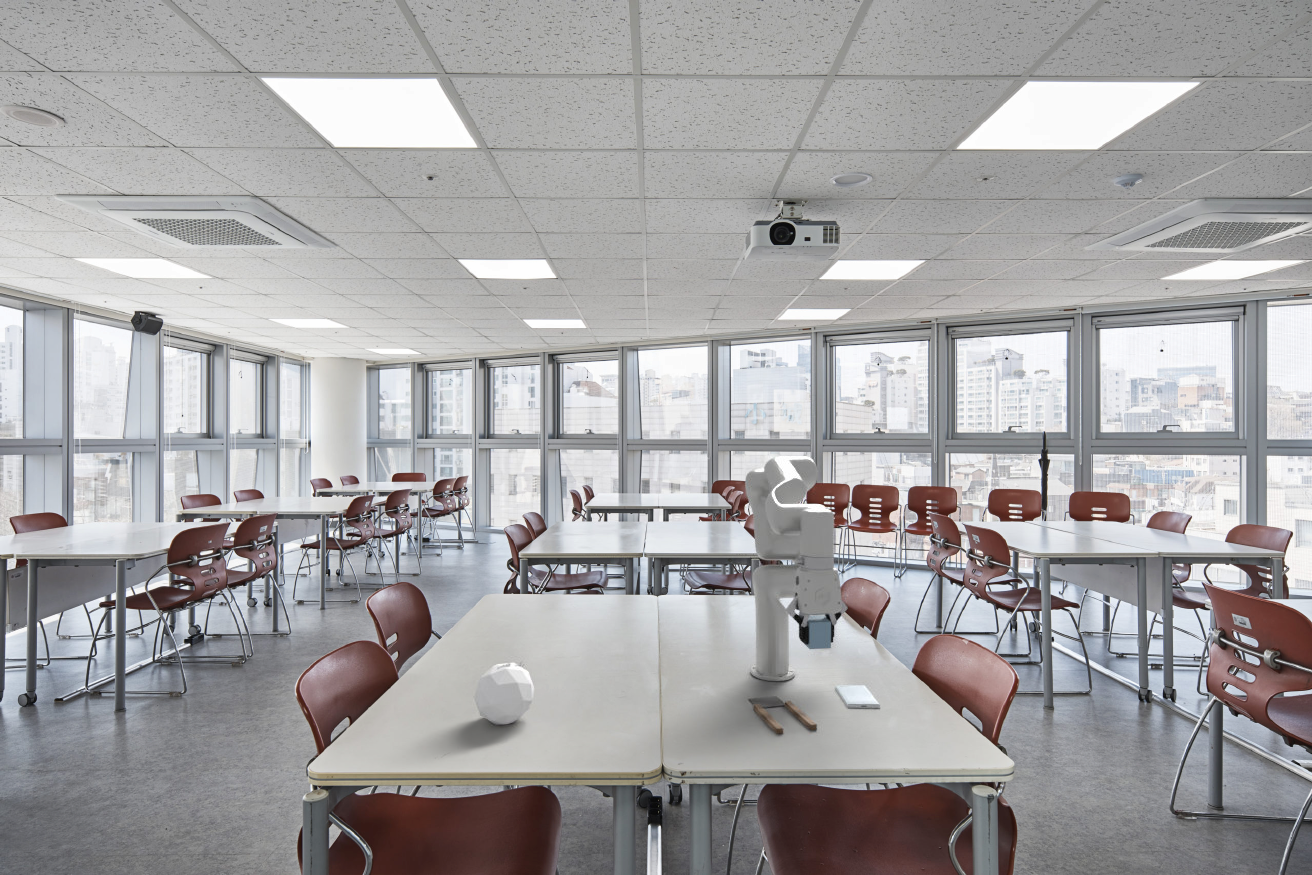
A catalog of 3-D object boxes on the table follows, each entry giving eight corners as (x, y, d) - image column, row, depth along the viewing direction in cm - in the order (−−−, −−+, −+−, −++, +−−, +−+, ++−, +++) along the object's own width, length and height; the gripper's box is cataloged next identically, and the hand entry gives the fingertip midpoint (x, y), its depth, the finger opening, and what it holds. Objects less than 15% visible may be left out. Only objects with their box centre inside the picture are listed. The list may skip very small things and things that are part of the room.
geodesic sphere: (522, 676, 161) (494, 640, 155) (558, 689, 152) (531, 652, 146) (483, 727, 152) (452, 691, 145) (519, 744, 143) (488, 706, 136)
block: (801, 641, 143) (801, 615, 143) (822, 640, 144) (822, 615, 144) (809, 649, 138) (809, 622, 138) (830, 648, 139) (831, 621, 139)
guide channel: (744, 700, 160) (744, 695, 160) (780, 696, 163) (780, 691, 163) (777, 733, 141) (777, 728, 141) (816, 729, 143) (816, 724, 143)
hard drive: (835, 684, 168) (847, 703, 156) (865, 685, 168) (880, 703, 155) (835, 691, 168) (847, 709, 156) (865, 691, 168) (880, 709, 155)
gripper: (789, 567, 135) (788, 650, 135) (859, 564, 139) (859, 644, 139) (775, 560, 142) (775, 638, 142) (842, 557, 146) (842, 633, 146)
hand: (816, 640), depth 141 cm, fingers closed on block, 5 cm apart
